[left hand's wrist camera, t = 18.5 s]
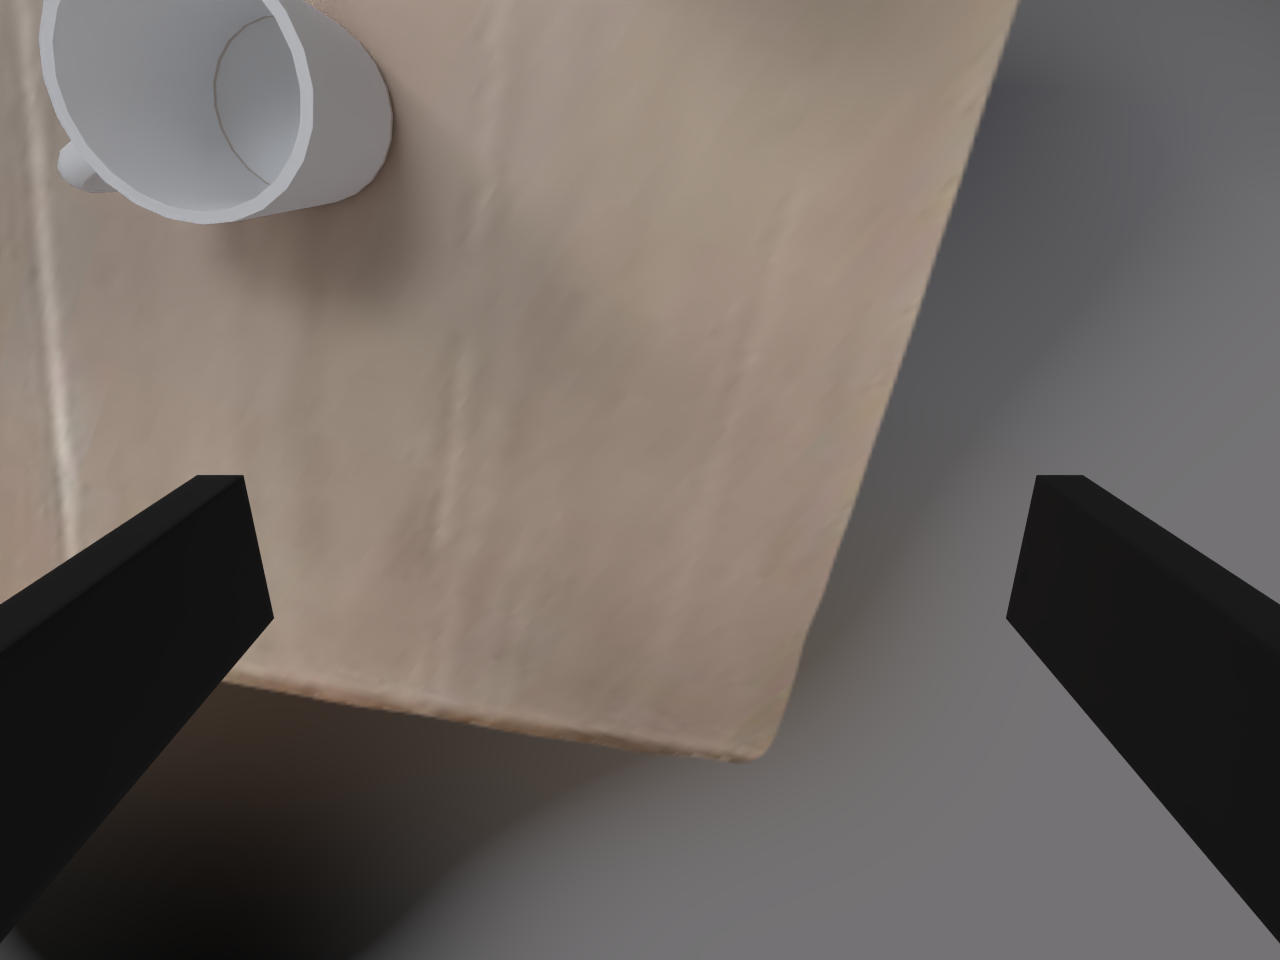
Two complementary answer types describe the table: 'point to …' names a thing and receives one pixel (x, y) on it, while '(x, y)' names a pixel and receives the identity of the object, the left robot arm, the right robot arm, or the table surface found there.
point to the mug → (213, 104)
